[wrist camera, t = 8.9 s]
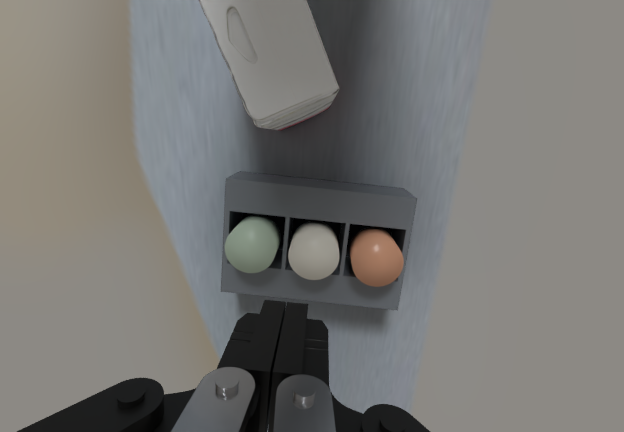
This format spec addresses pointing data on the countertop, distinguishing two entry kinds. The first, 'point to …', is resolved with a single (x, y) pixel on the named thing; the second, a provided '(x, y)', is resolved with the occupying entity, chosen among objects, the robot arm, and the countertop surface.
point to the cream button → (314, 250)
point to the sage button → (253, 244)
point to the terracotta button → (375, 257)
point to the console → (325, 207)
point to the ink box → (273, 58)
